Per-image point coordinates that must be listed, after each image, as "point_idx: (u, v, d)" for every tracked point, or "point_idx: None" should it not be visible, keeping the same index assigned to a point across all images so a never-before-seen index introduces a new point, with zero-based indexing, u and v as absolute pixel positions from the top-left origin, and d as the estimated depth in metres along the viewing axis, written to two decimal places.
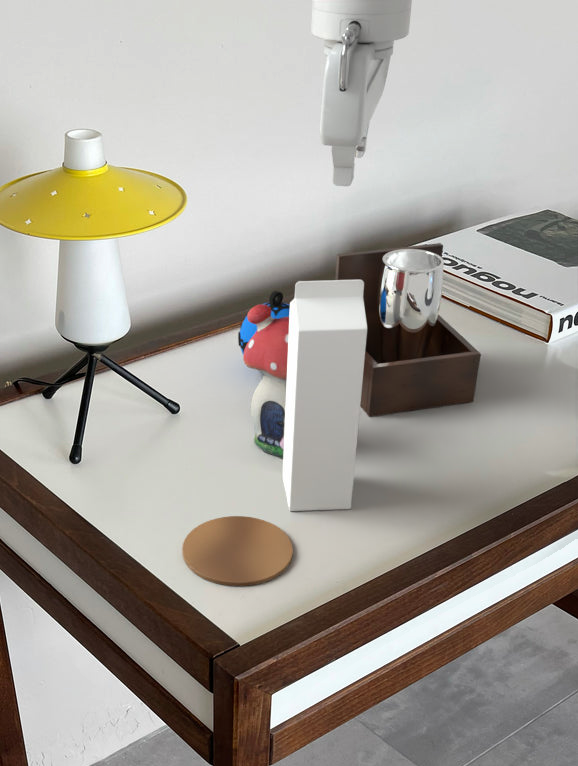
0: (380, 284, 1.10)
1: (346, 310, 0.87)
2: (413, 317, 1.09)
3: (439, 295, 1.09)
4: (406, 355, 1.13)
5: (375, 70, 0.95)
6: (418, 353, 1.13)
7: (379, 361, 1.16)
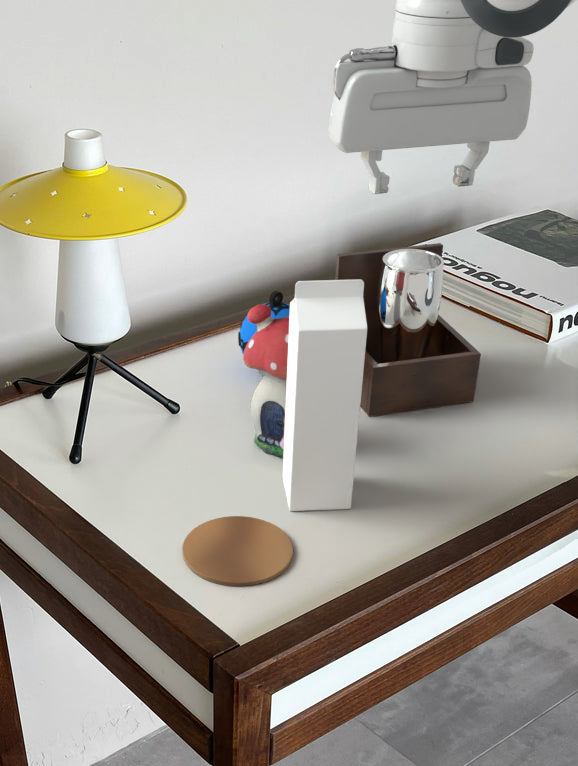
0: (380, 284, 1.10)
1: (347, 310, 0.87)
2: (413, 317, 1.09)
3: (439, 295, 1.09)
4: (406, 355, 1.13)
5: (458, 102, 0.99)
6: (418, 353, 1.13)
7: (379, 361, 1.16)
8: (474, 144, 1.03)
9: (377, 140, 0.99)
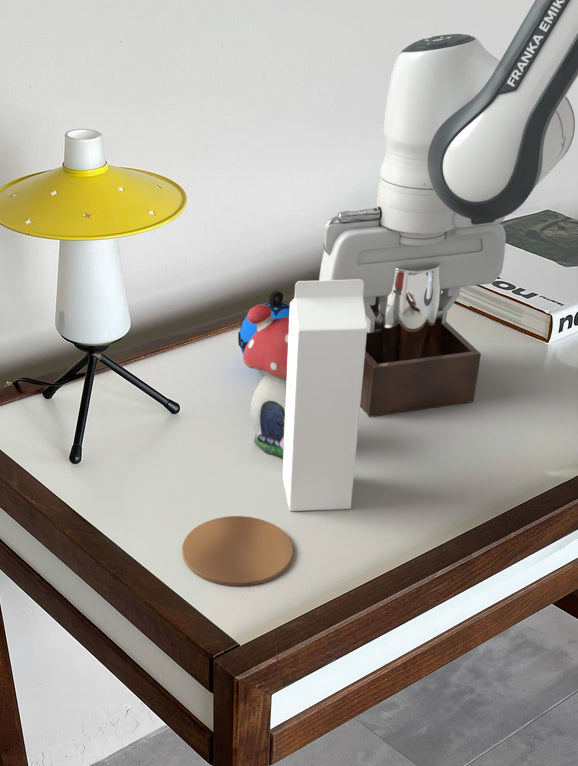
0: None
1: (346, 310, 0.87)
2: (412, 317, 1.09)
3: (438, 295, 1.09)
4: (405, 355, 1.13)
5: (438, 255, 1.08)
6: (417, 353, 1.13)
7: (378, 361, 1.16)
8: (446, 288, 1.12)
9: (364, 290, 1.08)
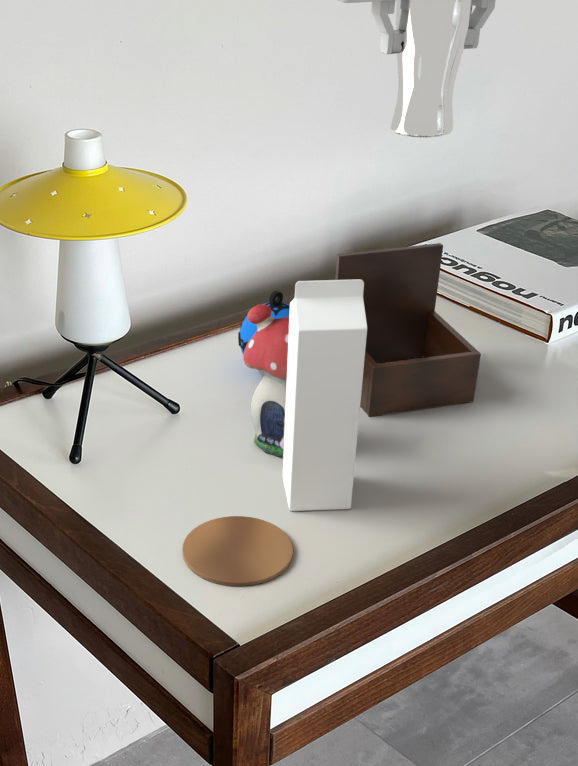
0: None
1: (346, 310, 0.87)
2: (439, 26, 0.91)
3: (470, 0, 0.91)
4: (430, 82, 0.94)
5: None
6: (444, 80, 0.95)
7: (398, 97, 0.97)
8: None
9: None
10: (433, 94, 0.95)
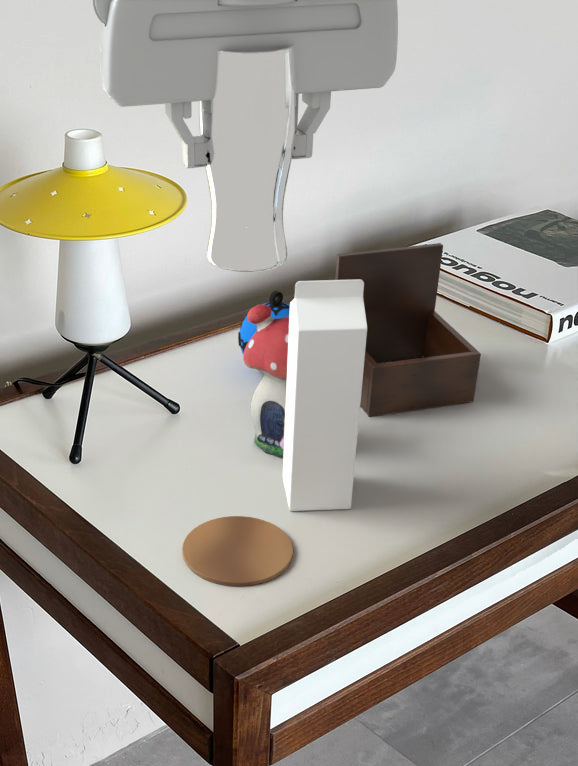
0: None
1: (346, 310, 0.87)
2: (250, 135, 0.68)
3: (292, 100, 0.68)
4: (247, 204, 0.71)
5: (287, 31, 0.67)
6: (266, 201, 0.72)
7: (212, 219, 0.74)
8: (309, 96, 0.70)
9: (167, 87, 0.66)
10: (252, 219, 0.72)
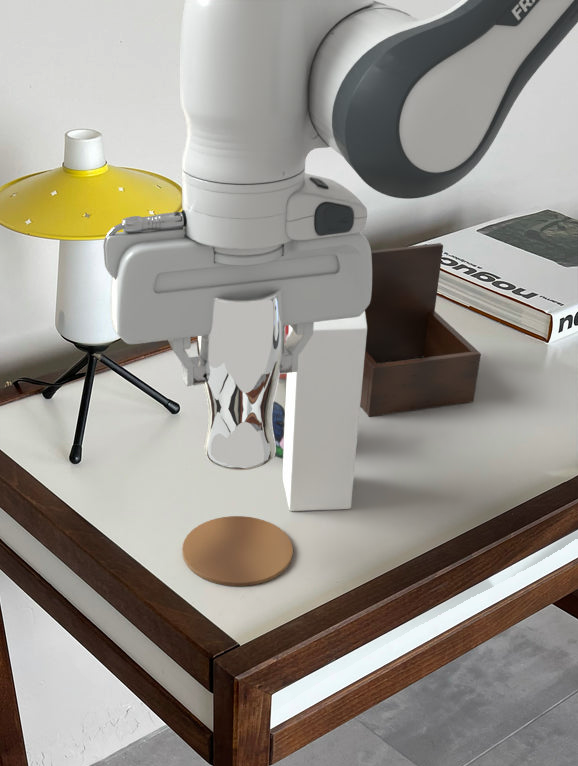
0: None
1: None
2: (242, 365, 0.77)
3: (279, 334, 0.78)
4: (239, 416, 0.81)
5: (274, 278, 0.76)
6: (257, 413, 0.81)
7: (208, 422, 0.84)
8: (294, 324, 0.80)
9: (169, 328, 0.76)
10: (244, 428, 0.81)
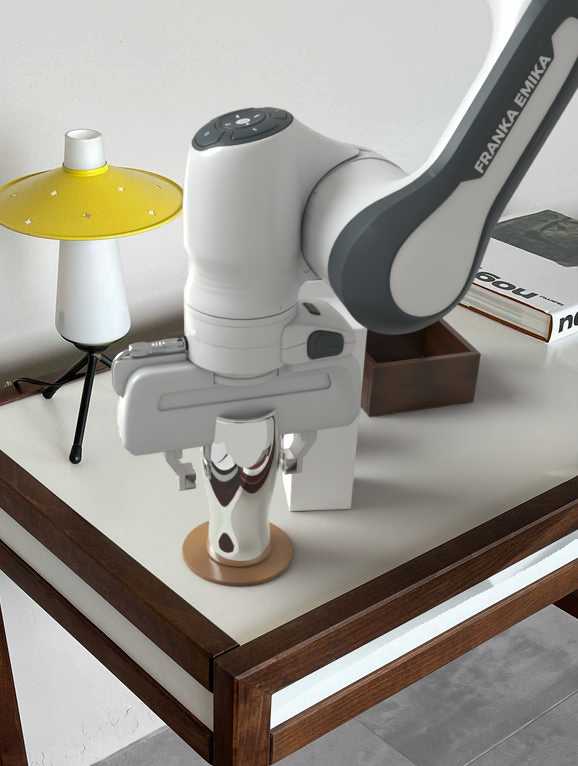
0: None
1: (346, 310, 0.87)
2: (241, 476, 0.83)
3: (276, 447, 0.83)
4: (239, 519, 0.87)
5: (270, 394, 0.81)
6: (255, 517, 0.87)
7: (209, 522, 0.90)
8: None
9: (172, 441, 0.81)
10: (243, 529, 0.87)
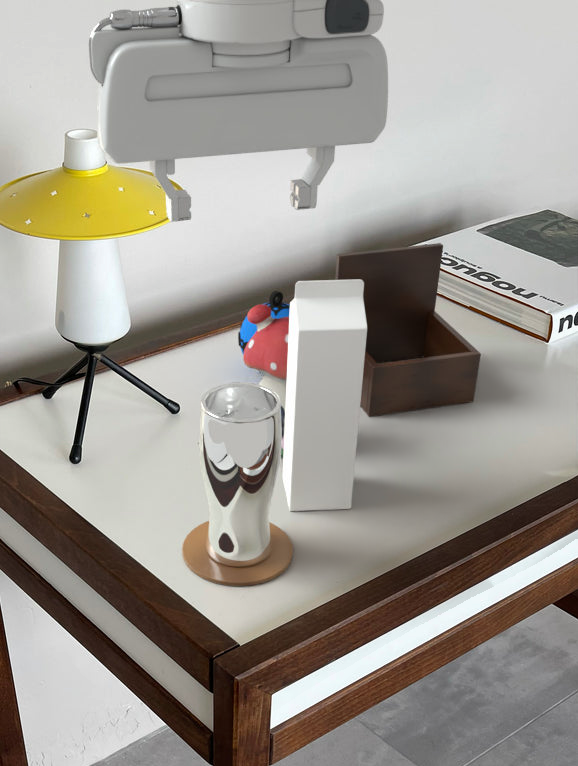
0: (200, 431, 0.84)
1: (347, 310, 0.87)
2: (241, 476, 0.83)
3: (276, 447, 0.83)
4: (239, 519, 0.87)
5: (280, 90, 0.68)
6: (255, 517, 0.87)
7: (209, 522, 0.90)
8: (313, 150, 0.72)
9: (162, 145, 0.68)
10: (243, 529, 0.87)
